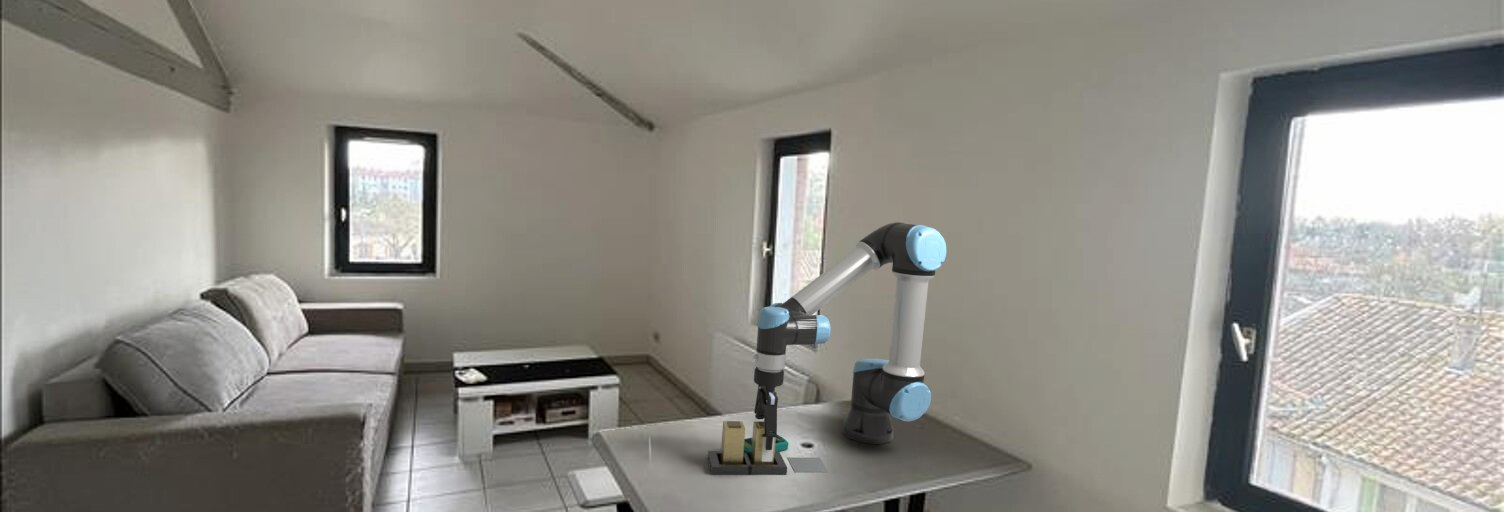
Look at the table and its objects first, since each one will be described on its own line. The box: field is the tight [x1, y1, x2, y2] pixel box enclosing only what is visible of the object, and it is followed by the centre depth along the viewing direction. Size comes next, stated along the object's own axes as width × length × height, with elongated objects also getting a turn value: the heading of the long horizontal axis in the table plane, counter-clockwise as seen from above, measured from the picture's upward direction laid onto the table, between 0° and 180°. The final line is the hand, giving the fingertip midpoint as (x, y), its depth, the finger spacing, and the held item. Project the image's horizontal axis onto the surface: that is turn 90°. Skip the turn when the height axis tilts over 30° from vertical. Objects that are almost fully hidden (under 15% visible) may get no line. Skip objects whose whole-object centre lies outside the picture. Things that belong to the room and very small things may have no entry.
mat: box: [786, 456, 830, 474], centre depth 178 cm, size 9×9×1 cm
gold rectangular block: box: [720, 420, 746, 465], centre depth 173 cm, size 5×5×11 cm
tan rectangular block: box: [751, 421, 776, 465], centre depth 174 cm, size 5×5×11 cm
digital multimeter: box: [744, 434, 789, 452], centre depth 185 cm, size 7×15×3 cm, turn 127°
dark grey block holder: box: [707, 450, 788, 476], centre depth 174 cm, size 19×10×2 cm, turn 100°
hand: (762, 451), depth 174 cm, fingers open, 10 cm apart
